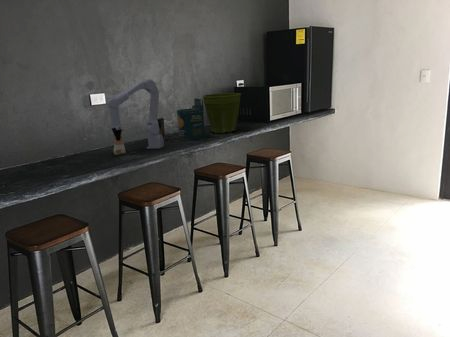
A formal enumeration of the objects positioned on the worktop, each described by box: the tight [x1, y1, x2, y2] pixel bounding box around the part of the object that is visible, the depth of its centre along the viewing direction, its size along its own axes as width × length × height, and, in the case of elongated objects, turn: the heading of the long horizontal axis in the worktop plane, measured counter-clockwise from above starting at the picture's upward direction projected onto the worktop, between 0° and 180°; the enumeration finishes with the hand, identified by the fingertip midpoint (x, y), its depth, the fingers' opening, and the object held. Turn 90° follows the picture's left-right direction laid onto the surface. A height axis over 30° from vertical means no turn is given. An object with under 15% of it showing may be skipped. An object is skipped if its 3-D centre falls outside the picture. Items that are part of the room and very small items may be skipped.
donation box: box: [176, 97, 206, 142], centre depth 272 cm, size 16×16×28 cm
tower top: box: [113, 143, 126, 150], centre depth 238 cm, size 6×6×3 cm
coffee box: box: [157, 117, 166, 142], centre depth 271 cm, size 9×6×16 cm
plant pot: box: [202, 92, 242, 134], centre depth 294 cm, size 30×30×29 cm
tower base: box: [112, 148, 126, 155], centre depth 239 cm, size 6×6×3 cm
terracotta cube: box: [113, 135, 124, 145], centre depth 237 cm, size 4×4×5 cm
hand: (117, 139), depth 237 cm, fingers open, 6 cm apart
